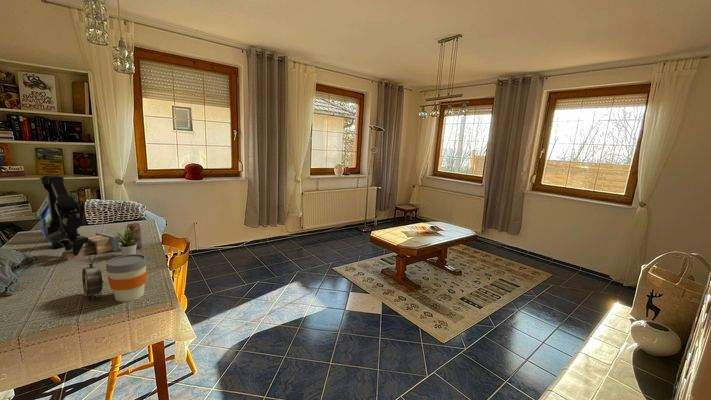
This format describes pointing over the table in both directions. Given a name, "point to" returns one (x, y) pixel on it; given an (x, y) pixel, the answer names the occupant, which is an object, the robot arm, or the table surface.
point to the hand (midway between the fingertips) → (72, 254)
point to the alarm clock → (92, 280)
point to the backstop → (113, 238)
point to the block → (100, 243)
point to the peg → (84, 251)
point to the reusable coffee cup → (127, 276)
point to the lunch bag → (44, 216)
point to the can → (138, 241)
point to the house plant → (128, 241)
